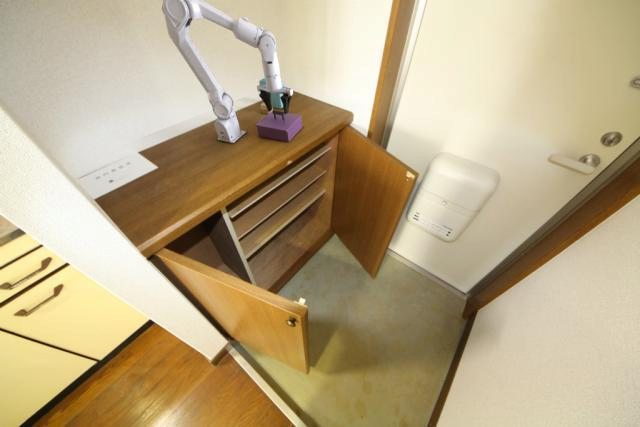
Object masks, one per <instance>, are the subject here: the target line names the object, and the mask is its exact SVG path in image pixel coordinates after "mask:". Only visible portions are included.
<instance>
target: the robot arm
mask: <svg viewBox="0 0 640 427" xmlns="http://www.w3.org/2000/svg"><path fill="white" fill-rule="evenodd" d="M161 12H162V13H163V15H164V19H165V23H166V29H167V34H168V36H169V38H170V39H171V41H172V42H173V44H174V45H175V47H176V49H177V51H178V52H179V53H180V55H181V56H182V58H183V59H184V61H185V62H186V64H187V65H188V67H189V68H190V70H191V71H192V73H193V74H194V76H195V77H196V79H197V80H198V82H199V83H200V85H201V86H202V88H203V89H204V91H205V93H206V94H207V98H208V102H209V104H210V105H211V108H212V112H213V114H214V115H215V117H216V119H215V121H214V122H213V128H214V129H215V132H216V135H217V140H218V141H222V142H227V143H231V144H234V143H235V142H236V141H238V140H239V139H240V138H241V137H243V136H245V135H246V133H247V131H246V130H242V129H241V127H240V123H239V120H238V116H237V113H236V111H235V110H234V108H233V107H234V100H233V98H232V96H230V94H229V93H227V92H226V91H225V89H224V88H223V87H222V86H220V84H219V83H218V81H217V80H216V78H215V76H214V74H213V73H212V72H211V70H210V68H209V66H208V64H207V63H206V61H205V60H204V58H203V57H202V55H201V53H200V51H199V50H198V48H197V47H196V46H195V44H194V42H193V40H192V38H191V37H190V29H191V23H192V21H193V20H194V21H195V20H201V19H205V20H208V21H209V22H211V23H214V24H216V25H218V26H220V27H222V28H224V29H225V30H229V31H231V32H232V33H233V35H234V37H235V39H236V40H238V41H241V42H243V43H245V44H246V45H248V46H250V47H252V48H253V49H258V51H259V52H260V55H261V56H260V58H261V66H262V70H263V71H262V72H263V76H264V78H265V81H266V85H260V84H258V85H257V86H256V89H257V92H259V94H258V97H259V98H260V99H261V100H262V103H263V102H264V103H265V105H266V107H267V109H268V111H269V112H270V111H271V110H272V108H273V107H272V104H271V93H278V94H283V95H282V96H281V97H280V99H281V101H282V104H283V108H282V109H283V112H284V113H285V114H287V113H290V112H289V110H290V103H291V99H292V96H293V95H294V90H293V88H290V87H287V86H285V85H284V86H282V84H281V80H282V79H281V77H282V76H281V70H280V63H279V59H278V52H277V41H276V38H275V36H274V34H273V33H272V32H270V30H268V29H264V27H263V26H260V27H259V26H257V25H255V24H254V23H252V22H250V21H249V18H248V17H246V16H244V17H241V16H239V17H237V18H233V17H231V15H228V14H227V13H225V12H223V11H221V10H220V9H218V8H216V7H215V6H213V5H212V4H210V3H209V2H207V1H204V0H162V4H161Z"/></svg>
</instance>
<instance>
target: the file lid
mask: <svg viewBox="0 0 640 427" xmlns="http://www.w3.org/2000/svg"><path fill="white" fill-rule="evenodd" d="M301 117H302V115H301V114H296V113H290V112H288V113H287V114H285V113H284V111H280V110H275V109H273V111H271V112H270V113H269V114H266V115H265V116H264V117H263V118H262V119H260V120H259V121H258V122H257V123H256V124H255V127H257V126H258V127H263V128H268V129H274V130H279V131H284V132H287V131H288V130H289V129H290V128H291V127H292V126H293V125H294V124H295V123H296V122H297V121H298V120H299V119H300V118H301ZM302 118H303V117H302Z"/></svg>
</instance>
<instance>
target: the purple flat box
mask: <svg viewBox="0 0 640 427" xmlns="http://www.w3.org/2000/svg"><path fill="white" fill-rule="evenodd" d="M302 128H303V117H301V118H300V119H299V120H298V121H297V122H296V123H295V124H294V125H293V126H292V127H291V128H290V129H289V130H288V131H287V132H284V131H279V130H274V129H268V128H263V127H258V126H256V129H257V134H258V137H262V138H267V139H272V140H277V141H282V142H287V143H290V142H291V141H292V139H293V138H294V137H295V136H296V135H297V134H298V133H299V132H300V130H301V129H302Z"/></svg>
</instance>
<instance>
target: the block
mask: <svg viewBox="0 0 640 427" xmlns="http://www.w3.org/2000/svg"><path fill="white" fill-rule="evenodd" d="M271 104H272V103H271ZM259 105H260V111H261V113H262V114H265V115H268V114H269V113H270V112H271V111H273V110H274V107H272V110H271V111H270V112H269V111H268V109H267V107H266V105H265V103H264V102H263V101H262V103H261V104H259Z"/></svg>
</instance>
